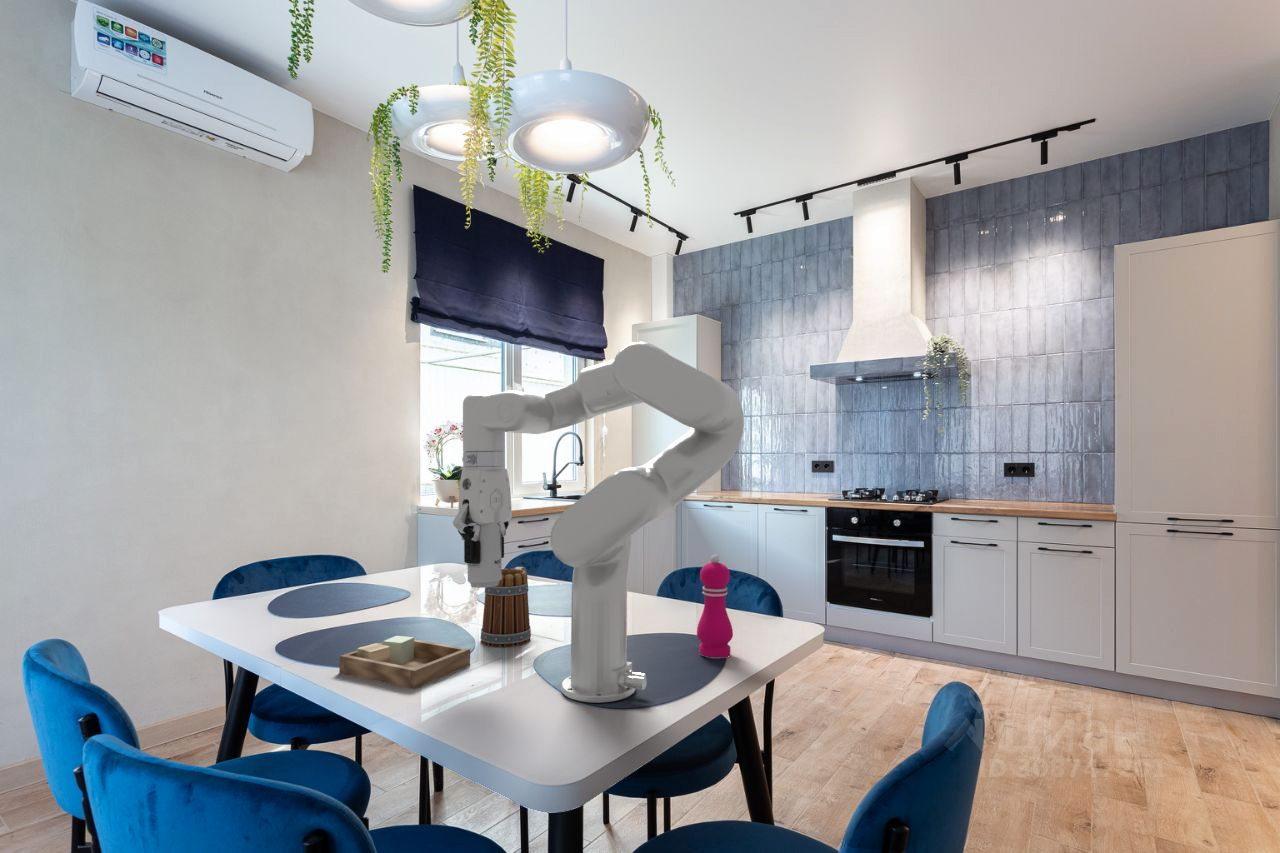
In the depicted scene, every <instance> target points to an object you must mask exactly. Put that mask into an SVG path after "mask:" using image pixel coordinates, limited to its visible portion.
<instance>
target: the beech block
mask: <svg viewBox="0 0 1280 853" xmlns="http://www.w3.org/2000/svg"><path fill="white" fill-rule="evenodd" d="M378 643H379V642H375V643H371V644H368V645H365V646H361V647H357V648H356V650H357V657H360V658H366V659H371V660H376V661H381V662H386V663H390V647H389V646H386V645H382V644H378Z"/></svg>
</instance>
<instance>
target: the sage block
mask: <svg viewBox="0 0 1280 853" xmlns="http://www.w3.org/2000/svg"><path fill="white" fill-rule="evenodd" d="M414 639H415V637H413V636H406V635H405V636H403V635H395V636H392V637H389V638H386V639H384V640H383V641H382V642H383V645H386V646H389V647H390V663H391V664H400V665H401V664H403V663H405V662H407V661H409V660H411V659H413V658H414Z"/></svg>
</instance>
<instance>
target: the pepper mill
mask: <svg viewBox="0 0 1280 853" xmlns="http://www.w3.org/2000/svg"><path fill="white" fill-rule="evenodd" d="M710 561H711V562H708V563H706V564H705V565H703V566H702V568H701V569H700V574H699V579H700V582H701V583H702V584H703V586H702V592H701V593H702V594H703V596H704V605H703V606H704V607H703V611H702V613H701V615H700V619H699V620H698V624H697V627H696V628H697V629H696V636H697V638H698V640H699V641H700V642H701V643H700V644H699V647H698V651H699V652H700V654H702V655H704V656H708V657H728V656H729V657H731V646H730V645H729V643H730V642H731V640H733V636H734V632H733V629H734V628H733V627H732V623H731V620H730V617H729V615H728V612H727V607H726V596H727V595H728V587H727V585H728V583H729V581H730V578H731V575H730V574H731V573H730V570H729V568H728V567H727V566H726V565H725V564H723V563H722V562H720V556H718V554H713V555H711V556H710ZM699 652H698V653H699ZM700 654H699V655H700ZM729 657H728V658H729Z"/></svg>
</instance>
